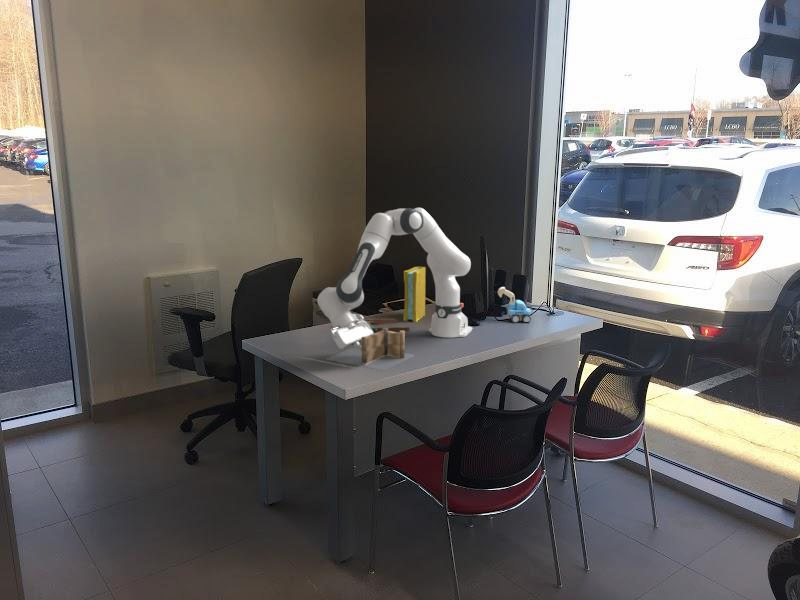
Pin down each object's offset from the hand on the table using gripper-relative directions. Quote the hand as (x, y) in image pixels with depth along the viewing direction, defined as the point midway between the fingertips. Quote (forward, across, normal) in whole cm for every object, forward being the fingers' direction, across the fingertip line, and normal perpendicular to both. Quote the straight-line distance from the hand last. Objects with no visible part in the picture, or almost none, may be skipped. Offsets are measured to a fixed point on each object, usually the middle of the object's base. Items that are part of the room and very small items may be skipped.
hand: (365, 351), depth 259 cm
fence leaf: (+4, +4, +2) cm, 6 cm away
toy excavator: (+18, +98, -12) cm, 100 cm away
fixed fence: (+6, +13, 0) cm, 15 cm away
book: (-13, +77, +19) cm, 80 cm away
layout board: (+2, +7, +5) cm, 9 cm away
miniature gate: (-16, +46, +24) cm, 54 cm away
